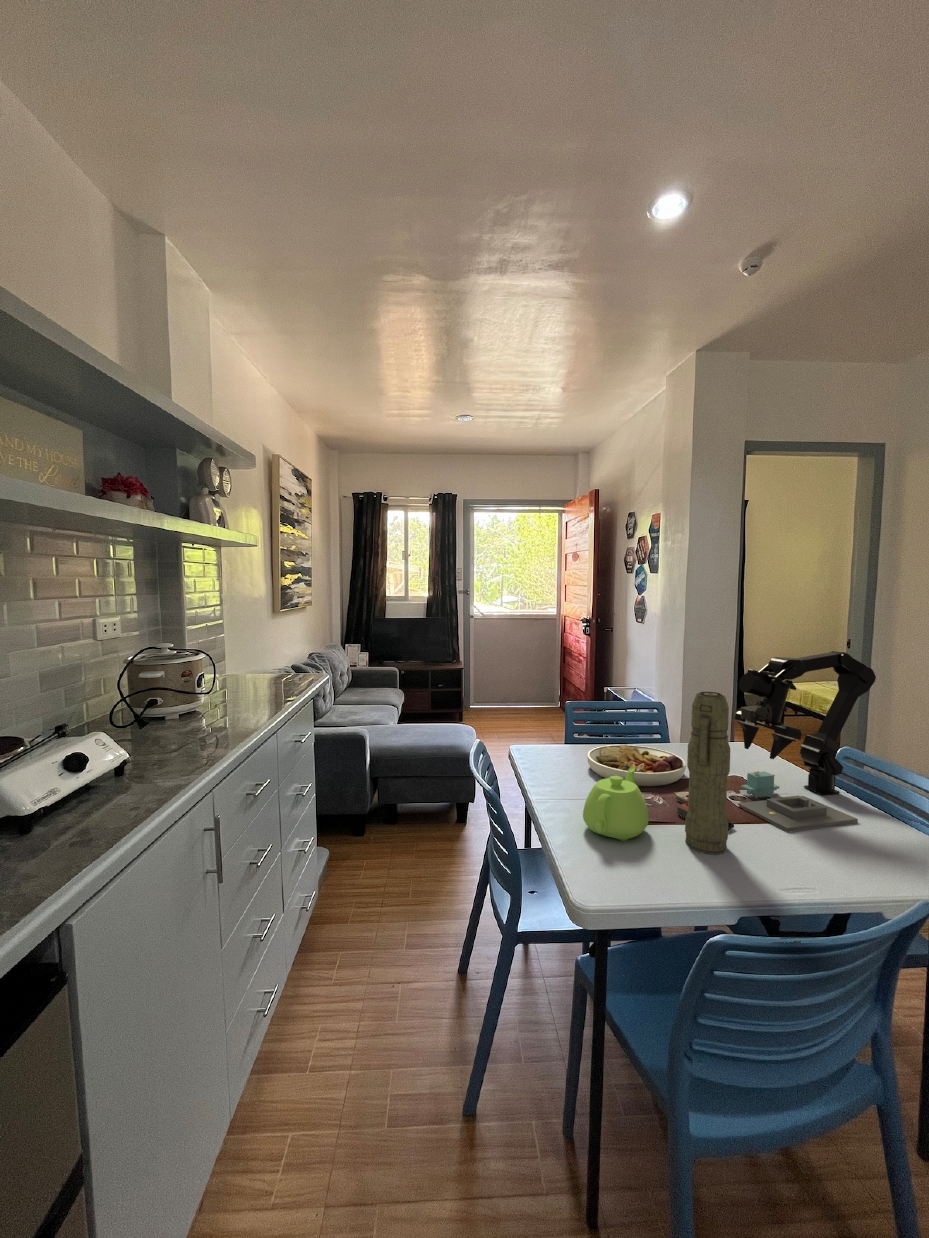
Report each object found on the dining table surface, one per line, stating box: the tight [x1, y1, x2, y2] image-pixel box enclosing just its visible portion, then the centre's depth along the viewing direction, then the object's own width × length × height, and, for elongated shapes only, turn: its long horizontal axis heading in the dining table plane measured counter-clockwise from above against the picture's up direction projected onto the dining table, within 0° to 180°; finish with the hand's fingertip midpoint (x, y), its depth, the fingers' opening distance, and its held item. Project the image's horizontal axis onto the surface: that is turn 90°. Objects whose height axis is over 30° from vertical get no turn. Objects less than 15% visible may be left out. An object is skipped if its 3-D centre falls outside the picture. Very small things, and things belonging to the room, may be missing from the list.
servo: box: [740, 770, 780, 798], centre depth 157 cm, size 10×4×7 cm, turn 105°
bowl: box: [586, 744, 687, 787], centre depth 176 cm, size 30×30×8 cm
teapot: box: [582, 767, 650, 842], centre depth 133 cm, size 22×15×13 cm
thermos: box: [684, 691, 731, 855], centre depth 124 cm, size 9×12×35 cm
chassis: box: [737, 795, 859, 833], centre depth 143 cm, size 22×16×3 cm
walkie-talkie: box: [675, 795, 735, 829], centre depth 142 cm, size 9×4×20 cm
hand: (758, 753), depth 156 cm, fingers open, 9 cm apart
